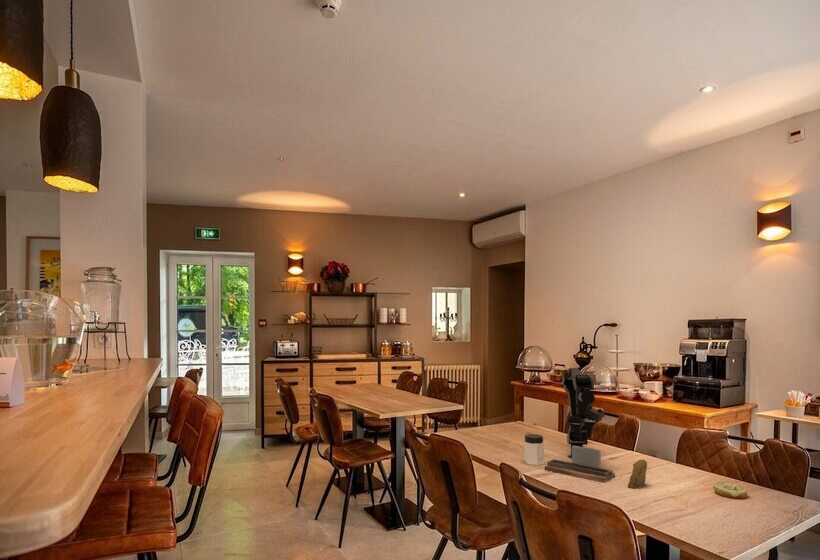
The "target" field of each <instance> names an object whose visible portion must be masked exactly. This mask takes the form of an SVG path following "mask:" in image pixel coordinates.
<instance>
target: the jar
mask: <svg viewBox="0 0 820 560" xmlns="http://www.w3.org/2000/svg"><path fill="white" fill-rule="evenodd" d="M523 455H524V456H523V457H524V458H523V459H524V460H523V461H524V463H525V464H527V465H529V464H530V466H531V465H532V466H541V465H544V464H545V443H544V437H543V435H542V434H539V433H538V434H537V433H536V434H535V433H529V434H525V435H524V441H523Z"/></svg>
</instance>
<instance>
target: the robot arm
mask: <svg viewBox="0 0 820 560" xmlns="http://www.w3.org/2000/svg"><path fill="white" fill-rule="evenodd" d="M561 382H562V386H563V389H564V391H565V392H566V394H567V396H568V403H569V404H568V405H569V413H570V415H569V416H568V417H567V424H568V423H569V428H568V431H567V436H566V442H567V444H568V445H570V454H569V455H567V457H568V458H572V446H579V447H584V445H585V446H588V444H589V443H588V442H589V441H588V440H589V439H591V437H592V435H593V432H594V427H595V426H596V425H597V424H598V423H599V422H602V420H603V418H605V412H604V409H601V408H598V409H594V407H593V405H592V404H593V403H594V402H595V400H596V396H595V394H594V393H593V392H592V391H594V388H595V383H594V381H593V379H592V377H591V375H590V374H588V373H583V372H582V371H581V370H580V368H577V367H573V368H572V367H570V368H567V371H566V372H565V373H563V375H562V379H561Z"/></svg>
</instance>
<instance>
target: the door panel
mask: <svg viewBox="0 0 820 560" xmlns="http://www.w3.org/2000/svg"><path fill="white" fill-rule="evenodd" d="M601 455H602V454H601V450H600V449H595V448H590V447H585V446H583V447H579V446H572V457H571V463H576V464H581V465H586V466H592V467H597V468H602V465H601V464H602V463H601V461H602V460H601Z"/></svg>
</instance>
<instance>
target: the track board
mask: <svg viewBox="0 0 820 560" xmlns="http://www.w3.org/2000/svg"><path fill="white" fill-rule="evenodd" d="M546 470H549V471H548V472H551V471H552V473H556V474H560V475H565V476H566V475H567V476H570V475H571V477H576V478H580V479H584V480H590V481H594V482H599V483H603V482H604V483H606V482H609V481H610V480H612V479H614V478H616V472H613V470H611V469H607V468H602V467H601V468H597V467H592V466H586V465H581V464H576V463H572V461H571V462H570V461H565V460H560V459H554V458H553V459H551V460H549V461H546V465H545V466H544V471H546ZM613 477H614V478H613Z"/></svg>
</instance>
